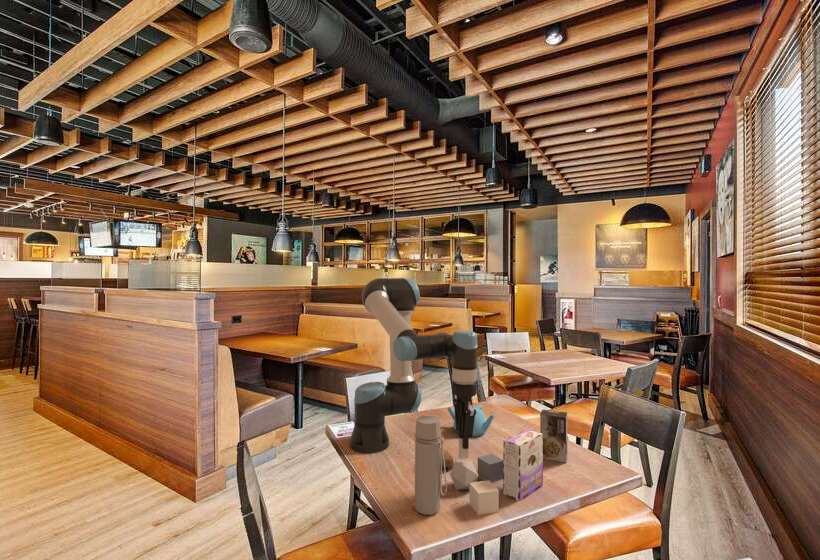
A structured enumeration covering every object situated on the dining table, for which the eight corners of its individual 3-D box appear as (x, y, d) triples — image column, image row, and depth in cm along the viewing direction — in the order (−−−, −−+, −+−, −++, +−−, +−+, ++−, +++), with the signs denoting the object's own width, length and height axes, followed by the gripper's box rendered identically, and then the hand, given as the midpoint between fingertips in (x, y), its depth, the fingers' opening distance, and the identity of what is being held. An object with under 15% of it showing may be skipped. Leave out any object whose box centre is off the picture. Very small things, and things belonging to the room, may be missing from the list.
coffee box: (567, 456, 150) (568, 412, 150) (566, 463, 144) (566, 417, 144) (541, 451, 153) (542, 408, 153) (539, 458, 148) (539, 413, 148)
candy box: (526, 479, 132) (527, 428, 132) (543, 486, 128) (543, 433, 128) (502, 494, 123) (502, 439, 123) (519, 502, 118) (519, 445, 118)
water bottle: (410, 514, 112) (410, 422, 112) (419, 499, 119) (420, 413, 119) (442, 521, 109) (443, 426, 109) (450, 506, 116) (450, 417, 116)
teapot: (478, 422, 185) (478, 397, 185) (495, 437, 168) (495, 409, 168) (446, 425, 181) (446, 400, 181) (460, 440, 164) (460, 412, 164)
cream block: (469, 503, 117) (469, 482, 117) (488, 501, 119) (488, 480, 119) (478, 515, 112) (478, 493, 112) (498, 512, 113) (498, 490, 113)
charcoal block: (477, 475, 134) (477, 457, 134) (491, 471, 137) (491, 453, 137) (489, 483, 129) (489, 464, 129) (504, 479, 132) (504, 460, 132)
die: (470, 499, 121) (486, 469, 124) (445, 482, 122) (461, 453, 125) (466, 496, 128) (481, 467, 131) (442, 480, 130) (457, 452, 133)
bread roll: (429, 484, 136) (435, 466, 133) (416, 460, 144) (421, 442, 141) (455, 478, 140) (461, 460, 137) (440, 454, 149) (445, 437, 146)
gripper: (484, 386, 121) (483, 465, 122) (467, 375, 134) (466, 447, 134) (461, 387, 119) (460, 468, 120) (445, 377, 132) (444, 450, 132)
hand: (463, 457), depth 127 cm, fingers closed
